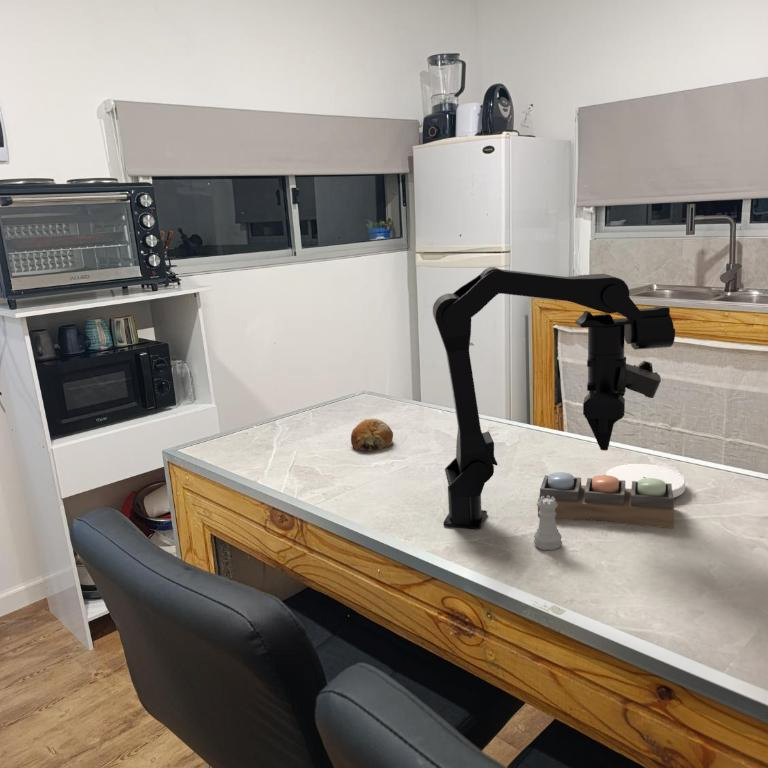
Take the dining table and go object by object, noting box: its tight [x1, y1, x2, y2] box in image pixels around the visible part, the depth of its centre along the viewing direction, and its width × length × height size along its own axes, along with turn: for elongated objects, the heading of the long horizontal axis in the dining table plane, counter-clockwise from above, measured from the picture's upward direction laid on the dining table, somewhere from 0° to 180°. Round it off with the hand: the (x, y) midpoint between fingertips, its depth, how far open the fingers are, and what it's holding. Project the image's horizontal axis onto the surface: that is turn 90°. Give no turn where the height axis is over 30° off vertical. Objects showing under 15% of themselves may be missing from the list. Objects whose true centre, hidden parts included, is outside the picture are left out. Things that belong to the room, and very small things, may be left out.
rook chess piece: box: [533, 496, 563, 551], centre depth 112 cm, size 4×4×8 cm
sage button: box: [638, 478, 666, 497], centre depth 119 cm, size 4×4×2 cm
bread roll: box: [350, 418, 394, 452], centre depth 166 cm, size 10×10×8 cm
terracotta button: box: [592, 474, 619, 493], centre depth 122 cm, size 4×4×2 cm
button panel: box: [537, 474, 675, 529], centre depth 123 cm, size 8×22×5 cm, turn 70°
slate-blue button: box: [547, 471, 574, 490], centre depth 125 cm, size 4×4×2 cm
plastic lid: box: [604, 463, 686, 499], centre depth 131 cm, size 14×14×2 cm
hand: (605, 440), depth 120 cm, fingers open, 9 cm apart
